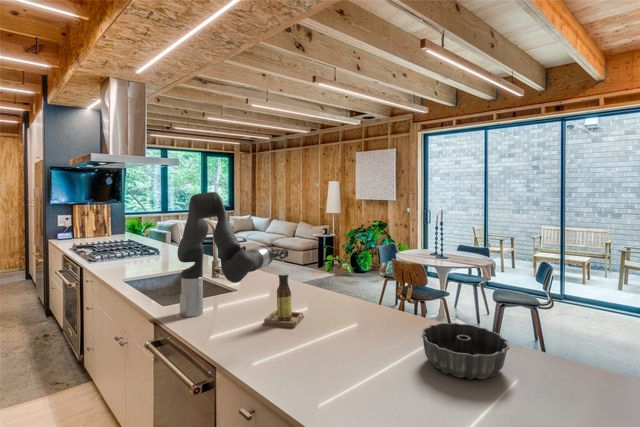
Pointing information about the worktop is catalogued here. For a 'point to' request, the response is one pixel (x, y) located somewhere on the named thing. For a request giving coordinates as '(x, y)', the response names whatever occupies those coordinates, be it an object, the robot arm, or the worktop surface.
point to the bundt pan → (465, 350)
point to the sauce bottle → (284, 299)
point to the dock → (292, 323)
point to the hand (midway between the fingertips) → (275, 250)
